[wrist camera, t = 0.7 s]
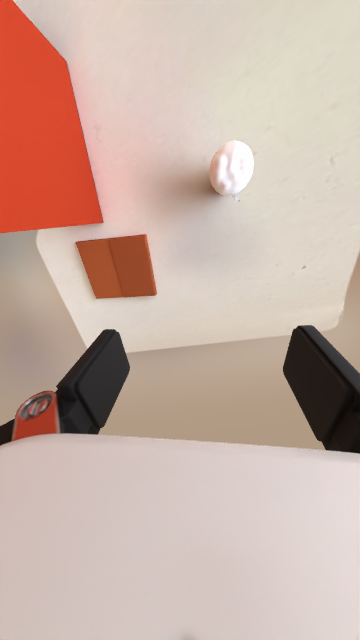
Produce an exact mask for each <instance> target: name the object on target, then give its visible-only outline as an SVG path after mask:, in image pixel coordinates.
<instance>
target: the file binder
mask: <svg viewBox="0 0 360 640" xmlns="http://www.w3.org/2000/svg"><path fill="white" fill-rule="evenodd" d="M95 223H103V219H102V215H101V210H100V206H99V202H98V197H97V193H96V189H95V184H94V180H93V176H92V171H91V167H90V163H89V158H88V154H87V150H86V145H85V141H84V137H83V132H82V128H81V124H80V119H79V115H78V110H77V106H76V102H75V97H74V93H73V89H72V84H71V80H70V76H69V71H68V67H67V63H66V61H65V59H64V58H63V57H62V56H61V55H60V54H59V53H58V51H57V50H56V49H55V48H54V47H53V46H52V45H51V44H50V42H49V41H48V40H47V39H46V38H45V37H44V36H43V35H42V33H41V32H40V31H39V30H38V29H37V28H36V27H35V25H34V24H33V23H32V22H31V21H30V20H29V19H28V18H27V16H26V15H25V14H24V13H23V12H22V11H21V10H20V8H19V7H18V6H17V5H16V4H15V3H14V2H13V1H12V0H0V233H6V232H17V231H26V230H36V229H46V228H56V227H66V226H76V225H85V224H95Z"/></svg>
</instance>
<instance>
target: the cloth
mask: <svg viewBox="0 0 360 640" xmlns="http://www.w3.org/2000/svg"><path fill="white" fill-rule="evenodd" d="M76 245H77V248H78V251H79V253H80V256H81V259H82V261H83V264H84V267H85V270H86V272H87V275H88V278H89V281H90V283H91V286H92V289H93V292H94V294H95V297H96V299H97V298H115V297H136V296H154V295H156V294H157V292H156V287H155V281H154V276H153V270H152V264H151V259H150V253H149V248H148V242H147V236H146V235H137V236H127V237H118V238H108V239H99V240H90V241H80V242H76Z"/></svg>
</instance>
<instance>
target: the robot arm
mask: <svg viewBox="0 0 360 640" xmlns="http://www.w3.org/2000/svg"><path fill="white" fill-rule="evenodd" d="M129 370H130V366H129V362H128V359H127V356H126V353H125V350H124V347H123V344H122V340H121V337H120V334H119V332H116V330H114V329H106V330H103V331H102V333H101V334H100V335H99V336H98V337H97V339H96V340H95V341H94V342H93V343H92V344H91V346H90V347H89V348H88V349H87V350H86V352H85V353H84V354H83V355H82V356H81V358H80V359H79V360H78V361H77V362H76V363H75V365H74V366H73V367H72V368H71V369H70V371H69V372H68V373H67V374H66V376H65V377H64V378H63V379H62V380H61V381H60V382H59V384H58V385H57V386H56V387H57V388H58V390H57V391H56V392H53V391H43V392H41V393H38V394H36V395H34V396H32V397H30V398H29V399H28V400H26V401H25V402H24V403H23V404H22V405H21V406H20V408H19V409H18V410H17V413H16V415H15V419H13V420H11V421H9V422H7V423H6V424H4V425H2V426H0V640H360V373H358V371H357V370H356V369H355V368H354V367H353V366H352V365H351V364H350V363H349V362H348V361H347V360H346V359H345V358H344V357H343V356H342V355H341V354H340V353H339V352H338V351H337V350H336V349H335V348H334V347H333V346H332V345H331V344H330V343H329V342H328V341H327V340H326V339H325V338H324V337H323V336H322V335H321V334H320V332H319V331H318V330H317V329H316V328H315V327H314V326H311V325H306V326H298V327H297V328H296V329H294V330H293V332H292V336H291V340H290V343H289V347H288V351H287V355H286V359H285V362H284V366H283V372H284V375H285V377H286V379H287V381H288V383H289V385H290V387H291V389H292V391H293V393H294V395H295V397H296V399H297V401H298V403H299V405H300V407H301V409H302V411H303V413H304V415H305V417H306V419H307V421H308V423H309V425H310V427H311V429H312V431H313V433H314V435H315V437H316V438H317V440H318V441H322V443H323V445H324V447H325V449H326V450H316V449H304V448H291V447H277V446H276V447H275V446H262V445H249V444H234V443H220V442H204V441H191V440H176V439H161V438H145V437H128V436H113V435H112V436H111V435H98V433H99V431H100V428H102V427H104V425H105V423H106V421H107V419H108V417H109V415H110V412H111V410H112V408H113V406H114V404H115V402H116V399H117V397H118V395H119V393H120V391H121V389H122V386H123V384H124V382H125V380H126V378H127V375H128V373H129ZM327 450H328V451H327ZM338 451H340V452H338Z"/></svg>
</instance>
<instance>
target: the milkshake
mask: <svg viewBox="0 0 360 640" xmlns="http://www.w3.org/2000/svg"><path fill="white" fill-rule="evenodd" d="M252 171H253V156H252V152H251V150H250V148H249V147H248V146H247V145H246V144H244V143H242V142H239V141H231V142H228V143H226V144H224V145H223V146H221V147H220V148H219V149H218V150H217V152H216V153H215V155H214V156H213V158H212V161H211V164H210V180H211V183H212V185H213V189H214V190H215V191H216V192H217V193H218V194H222V195H232V196H233V198H234V200H235V202H238V201H240V200H239V198H238V196H237V194H236V193H238V192H240V191H241V190H242V189H243V188H244V187H245V186H246V185H247V183H248V182H249V180H250V177H251V175H252Z"/></svg>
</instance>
